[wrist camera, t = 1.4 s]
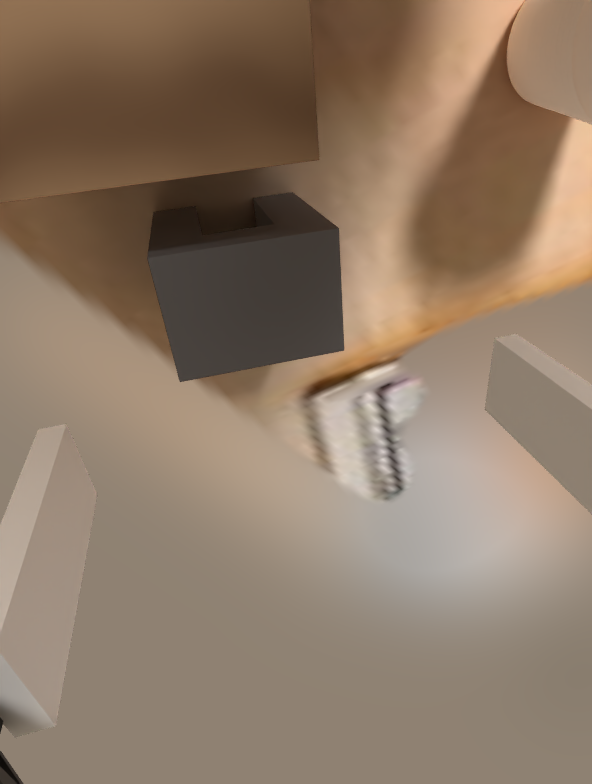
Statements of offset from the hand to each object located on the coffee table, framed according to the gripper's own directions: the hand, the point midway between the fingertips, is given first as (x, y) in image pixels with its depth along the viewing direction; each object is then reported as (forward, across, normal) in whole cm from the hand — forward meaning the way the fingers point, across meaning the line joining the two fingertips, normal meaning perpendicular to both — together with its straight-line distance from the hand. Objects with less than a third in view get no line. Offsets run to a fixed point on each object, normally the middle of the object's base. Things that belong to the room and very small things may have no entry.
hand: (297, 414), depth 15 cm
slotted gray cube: (+18, 0, 0) cm, 18 cm away
